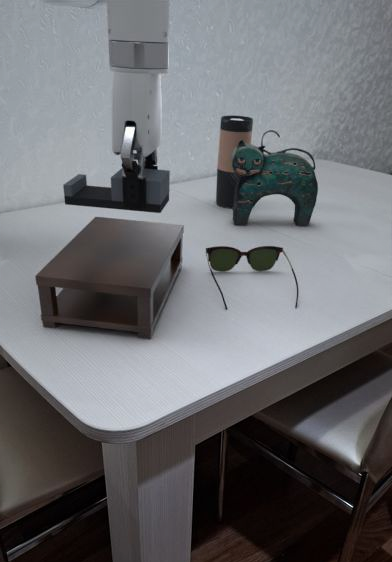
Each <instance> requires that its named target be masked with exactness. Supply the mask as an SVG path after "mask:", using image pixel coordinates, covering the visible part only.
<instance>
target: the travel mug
mask: <svg viewBox="0 0 392 562" xmlns="http://www.w3.org/2000/svg"><path fill="white" fill-rule="evenodd" d="M253 124H254V119H253V117H249V116H244V115H231V114H229V115H222V116H221V117H220V127H219V139H218V153H217V166H216V168H217V169H216V190H215V191H216V192H215V204H216V205H217V206H218V205H219V207H221V206H223V207H222V208H225V207H231V208H230V209H233V208H232V207H233V205H234V193H235V189H236V184H237V179H238V177H239V176H238V175H237V174H236V173H235V172H234V170H233V167H232V155H233V152H234V150H235V148H236V147H237V146H238V143H239V142H240V141H241V140H243V142H244V143H247V144H252V138H253V137H252V136H253V126H254V125H253Z"/></svg>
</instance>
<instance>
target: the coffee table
mask: <svg viewBox="0 0 392 562" xmlns="http://www.w3.org/2000/svg"><path fill="white" fill-rule="evenodd" d="M184 226H185V225H184V224H177V223H176V224H175V223H165V222H156V221H155V222H154V221H147V220H145V221H144V220H133V219H125V218H113V217H105V216H94V217H93V219H92V220H90V221H89V222H88V224H86V225H85V226H84V227H83V228H82V229H81V230H80V231H79V232H78V233H77V234H76V235H75V236H74V237H73V238H72V239H71V240H70V241H69V242H68V243H67V244H66V245H65V246H64V247H63V248H62V249H61V250H60V251H59V252H57V254H56V255H55V256H54V257H53V258H52V259H51V260H49V262H48V263H47V264H46V265H44V267H42V269H41V270H40V271H38V273H37V274H36V275H35V284H36V286H37V291H38V299H39V306H40V320H41V322H42V326H43V327H45V328H51V329H52V328H53V329H55V328H56V327H57V326H58V324H66V325H75V326H82V327H83V326H84V327H92V328H100V329H110V330H116V331H124V332H125V331H127V332H134V333H137V338H138V339H144V340H151V339H152V337H153V335H154V327H155V326H156V323H157V320H158V319H159V316H160V314H161V312H162V310H163V307H164V306H165V302H166V301H167V298H168V295H169V294H170V291H171V289H172V286H173V285H174V282H175V280H176V277H177V276H178V274H179V272H181V270H182V266H183V243H184V242H183V241H184V232H185V230H184V229H185V227H184ZM56 288H59V289H61V290H60V292H59V293H58V294H57V289H56Z"/></svg>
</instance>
